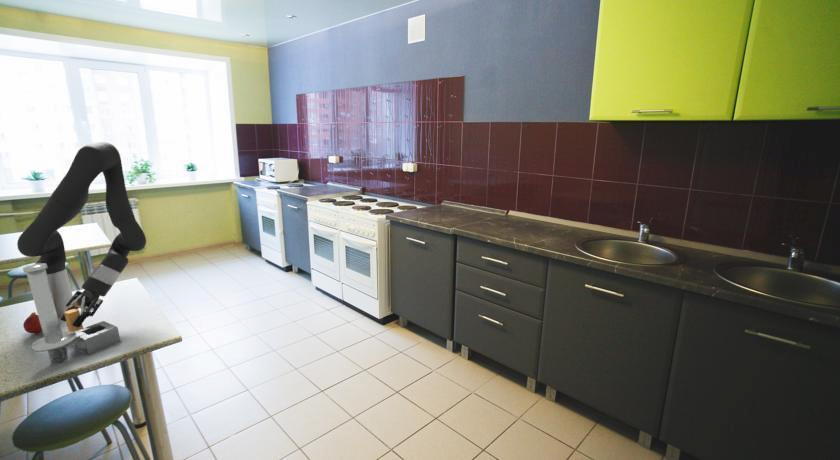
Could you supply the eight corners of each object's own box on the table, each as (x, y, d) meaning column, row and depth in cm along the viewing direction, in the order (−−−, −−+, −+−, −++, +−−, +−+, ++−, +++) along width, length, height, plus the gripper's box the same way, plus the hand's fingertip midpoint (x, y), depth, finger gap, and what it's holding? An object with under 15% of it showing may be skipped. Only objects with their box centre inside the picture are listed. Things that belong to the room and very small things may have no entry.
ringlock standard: (31, 364, 119) (3, 268, 111) (106, 335, 135) (86, 250, 128) (46, 373, 114) (18, 274, 106) (121, 342, 131) (102, 254, 123)
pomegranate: (35, 339, 133) (29, 317, 131) (21, 337, 134) (15, 316, 132) (53, 330, 138) (48, 309, 136) (40, 329, 140) (35, 308, 138)
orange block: (69, 335, 135) (63, 311, 133) (80, 332, 137) (74, 308, 135) (74, 338, 133) (68, 313, 131) (84, 334, 136) (78, 310, 134)
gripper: (81, 272, 140) (47, 315, 133) (101, 279, 134) (67, 324, 127) (101, 281, 146) (70, 322, 139) (122, 288, 140) (90, 332, 133)
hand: (69, 323), depth 133 cm, fingers open, 8 cm apart
